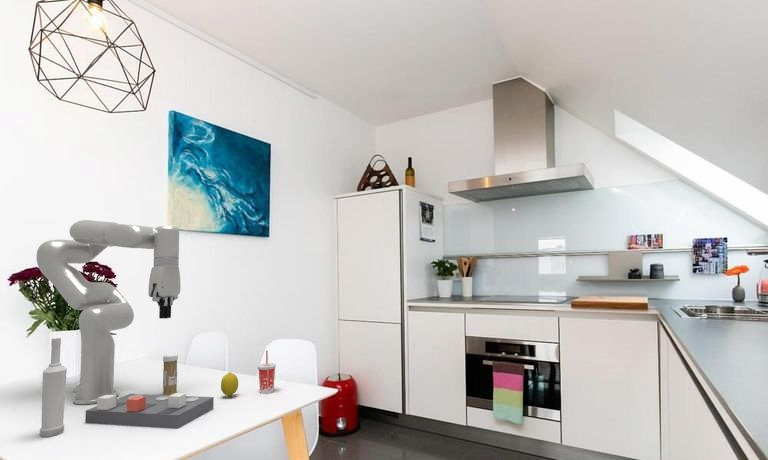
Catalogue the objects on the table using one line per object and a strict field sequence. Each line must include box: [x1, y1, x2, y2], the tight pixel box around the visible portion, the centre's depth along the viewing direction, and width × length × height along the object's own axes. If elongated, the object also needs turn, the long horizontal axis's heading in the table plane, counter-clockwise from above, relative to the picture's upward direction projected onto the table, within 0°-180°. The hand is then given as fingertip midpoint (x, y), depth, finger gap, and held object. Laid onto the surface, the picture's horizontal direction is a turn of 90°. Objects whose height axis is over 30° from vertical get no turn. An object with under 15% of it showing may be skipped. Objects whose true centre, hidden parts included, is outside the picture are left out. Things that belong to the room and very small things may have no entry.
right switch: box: [168, 392, 187, 408], centre depth 121 cm, size 4×3×3 cm
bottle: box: [39, 337, 68, 438], centre depth 113 cm, size 5×5×25 cm
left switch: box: [96, 395, 117, 410], centre depth 121 cm, size 4×3×3 cm
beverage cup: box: [257, 350, 277, 395], centre depth 146 cm, size 6×6×14 cm
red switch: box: [127, 396, 146, 412], centre depth 119 cm, size 4×3×3 cm
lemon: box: [220, 372, 239, 398], centre depth 141 cm, size 6×6×8 cm
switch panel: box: [84, 393, 215, 429], centre depth 124 cm, size 30×16×4 cm, turn 78°
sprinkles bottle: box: [162, 353, 179, 395], centre depth 146 cm, size 5×5×14 cm
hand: (165, 318), depth 139 cm, fingers closed
